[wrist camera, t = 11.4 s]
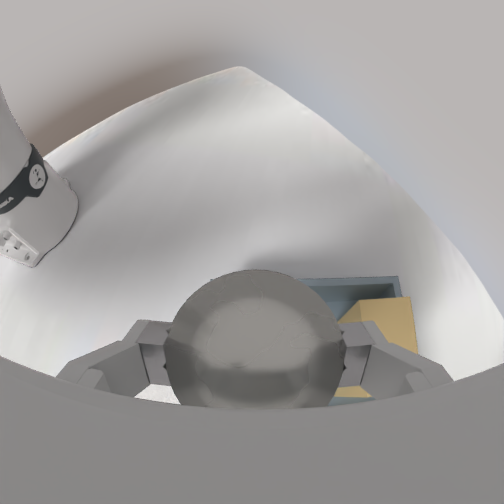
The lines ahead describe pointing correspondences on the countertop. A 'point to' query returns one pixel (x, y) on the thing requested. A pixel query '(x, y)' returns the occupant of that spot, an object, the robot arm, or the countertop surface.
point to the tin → (255, 345)
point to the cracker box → (383, 328)
